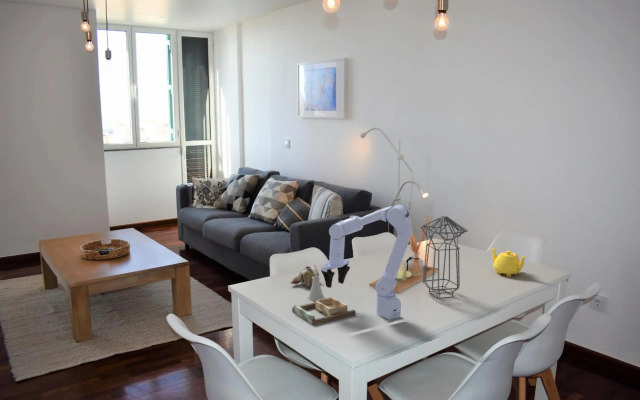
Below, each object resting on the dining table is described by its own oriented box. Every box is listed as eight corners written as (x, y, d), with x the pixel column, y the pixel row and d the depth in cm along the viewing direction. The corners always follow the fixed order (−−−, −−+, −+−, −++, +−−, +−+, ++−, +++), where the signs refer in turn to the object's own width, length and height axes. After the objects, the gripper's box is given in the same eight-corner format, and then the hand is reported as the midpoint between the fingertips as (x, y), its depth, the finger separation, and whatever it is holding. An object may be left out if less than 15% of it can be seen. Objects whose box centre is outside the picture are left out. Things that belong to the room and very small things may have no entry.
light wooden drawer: (347, 313, 209) (347, 305, 208) (330, 318, 204) (330, 309, 204) (331, 305, 218) (331, 296, 217) (315, 309, 214) (315, 300, 213)
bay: (355, 317, 208) (355, 307, 207) (313, 327, 198) (313, 317, 197) (332, 304, 221) (332, 295, 221) (292, 313, 211) (292, 304, 210)
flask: (314, 296, 231) (314, 273, 230) (327, 299, 227) (328, 277, 225) (303, 300, 226) (303, 277, 224) (317, 304, 221) (317, 281, 220)
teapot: (534, 275, 262) (536, 252, 260) (517, 281, 253) (519, 257, 251) (499, 266, 277) (500, 244, 275) (481, 271, 268) (483, 248, 266)
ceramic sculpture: (324, 263, 250) (309, 273, 237) (325, 280, 251) (310, 292, 238) (304, 260, 254) (288, 270, 241) (305, 277, 256) (289, 288, 243)
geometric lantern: (432, 302, 224) (436, 220, 218) (416, 290, 239) (419, 213, 233) (466, 299, 228) (470, 218, 222) (448, 287, 243) (451, 211, 237)
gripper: (340, 247, 221) (338, 278, 224) (317, 253, 211) (315, 286, 213) (354, 251, 217) (351, 283, 219) (330, 257, 206) (328, 291, 209)
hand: (334, 285), depth 216 cm, fingers open, 7 cm apart
